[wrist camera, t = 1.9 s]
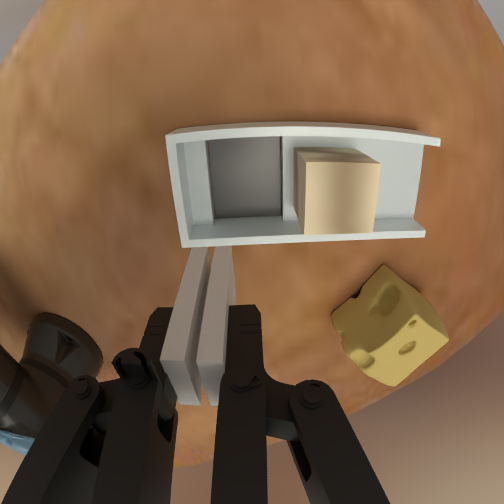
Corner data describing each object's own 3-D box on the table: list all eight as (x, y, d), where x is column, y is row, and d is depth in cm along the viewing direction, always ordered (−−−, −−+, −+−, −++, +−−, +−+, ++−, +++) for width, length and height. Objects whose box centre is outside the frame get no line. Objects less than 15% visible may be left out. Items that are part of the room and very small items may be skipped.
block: (293, 207, 28) (304, 235, 23) (293, 147, 25) (306, 161, 20) (350, 205, 28) (372, 232, 23) (355, 148, 25) (380, 163, 20)
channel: (190, 226, 31) (182, 247, 27) (177, 128, 25) (165, 135, 22) (406, 219, 31) (424, 237, 27) (417, 130, 25) (440, 138, 21)
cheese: (328, 313, 38) (346, 372, 29) (385, 257, 33) (420, 310, 25) (373, 337, 41) (393, 389, 32) (424, 291, 37) (455, 339, 28)
